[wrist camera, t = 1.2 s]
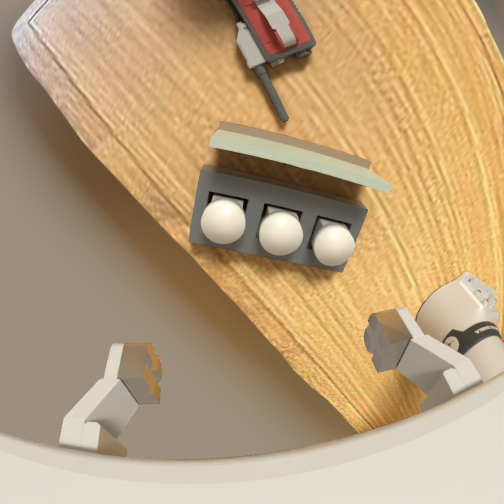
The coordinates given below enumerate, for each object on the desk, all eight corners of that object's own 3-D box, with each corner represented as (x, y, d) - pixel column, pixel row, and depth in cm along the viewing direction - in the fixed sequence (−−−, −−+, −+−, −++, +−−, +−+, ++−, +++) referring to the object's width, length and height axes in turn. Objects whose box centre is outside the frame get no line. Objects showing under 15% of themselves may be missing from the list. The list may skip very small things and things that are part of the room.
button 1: (249, 195, 38) (249, 208, 34) (241, 231, 40) (240, 247, 36) (209, 187, 37) (204, 199, 33) (202, 224, 40) (197, 239, 36)
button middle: (302, 207, 39) (308, 221, 35) (291, 242, 41) (295, 259, 37) (263, 198, 38) (265, 211, 34) (254, 234, 40) (254, 250, 37)
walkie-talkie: (206, -3, 27) (277, 124, 35) (201, -14, 23) (280, 127, 32) (270, -27, 25) (338, 99, 34) (272, -40, 21) (349, 99, 30)
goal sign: (368, 160, 37) (395, 177, 30) (361, 180, 38) (386, 201, 31) (221, 121, 35) (213, 127, 27) (216, 143, 36) (207, 156, 29)
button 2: (350, 219, 39) (360, 234, 36) (337, 252, 42) (345, 269, 38) (315, 210, 39) (322, 225, 35) (303, 245, 41) (309, 261, 37)
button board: (360, 202, 40) (368, 209, 37) (337, 261, 45) (342, 272, 42) (204, 164, 37) (200, 169, 35) (192, 232, 42) (188, 241, 40)
